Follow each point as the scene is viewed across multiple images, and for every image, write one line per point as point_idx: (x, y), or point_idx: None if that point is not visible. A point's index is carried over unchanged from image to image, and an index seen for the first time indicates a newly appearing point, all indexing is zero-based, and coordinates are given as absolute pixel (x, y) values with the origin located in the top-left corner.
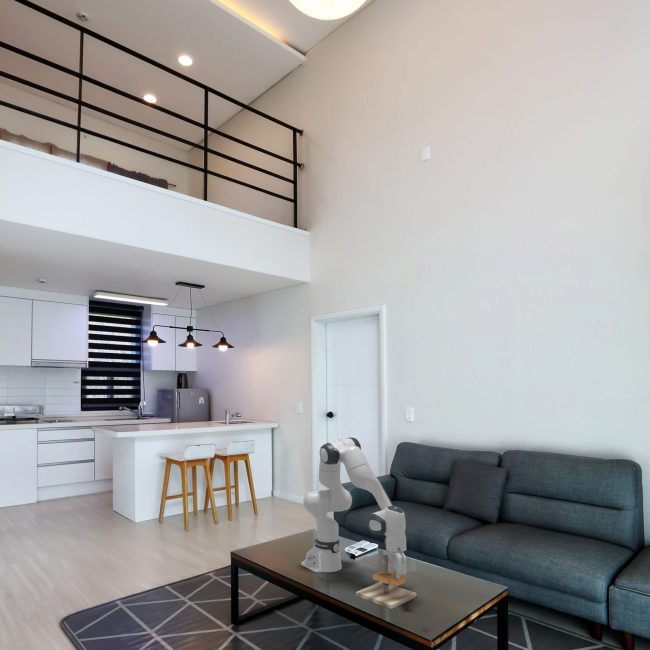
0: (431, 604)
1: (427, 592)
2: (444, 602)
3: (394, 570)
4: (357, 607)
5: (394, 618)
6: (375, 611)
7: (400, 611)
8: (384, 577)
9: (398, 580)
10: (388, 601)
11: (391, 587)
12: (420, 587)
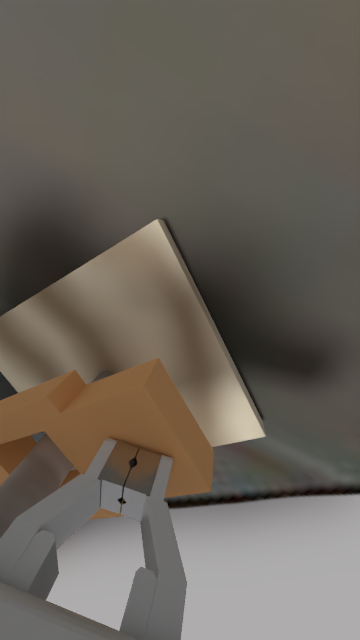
0: (318, 171)
1: (109, 83)
2: (350, 4)
3: (70, 532)
4: (185, 496)
5: (351, 454)
6: (244, 472)
7: (300, 398)
8: (100, 508)
9: (197, 474)
10: (215, 426)
11: (51, 328)
12: (17, 99)
